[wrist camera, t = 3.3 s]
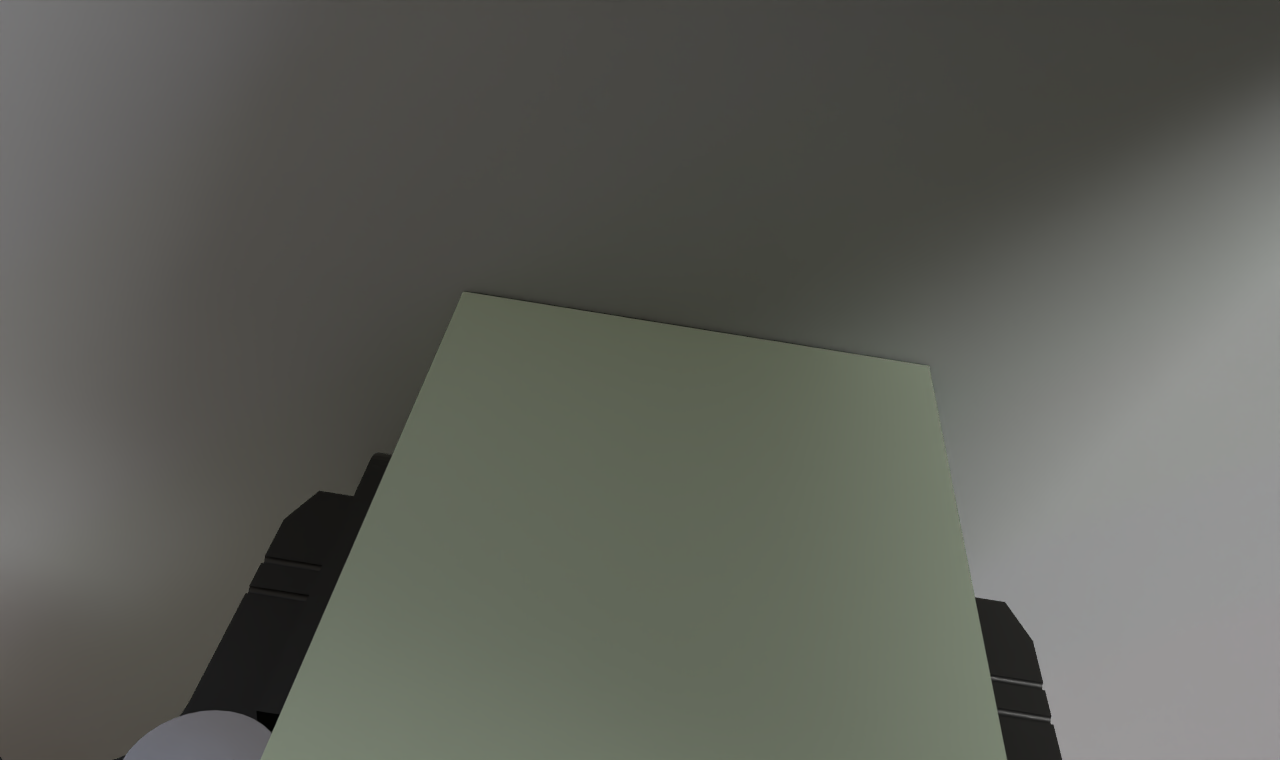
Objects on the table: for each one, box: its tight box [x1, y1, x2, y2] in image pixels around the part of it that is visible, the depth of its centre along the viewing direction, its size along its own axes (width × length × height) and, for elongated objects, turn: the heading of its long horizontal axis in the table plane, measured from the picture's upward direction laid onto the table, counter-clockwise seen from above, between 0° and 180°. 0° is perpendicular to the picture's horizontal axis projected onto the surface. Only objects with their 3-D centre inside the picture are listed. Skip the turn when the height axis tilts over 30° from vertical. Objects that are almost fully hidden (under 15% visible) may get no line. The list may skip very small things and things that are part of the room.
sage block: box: [260, 292, 1007, 760], centre depth 11 cm, size 5×5×6 cm
